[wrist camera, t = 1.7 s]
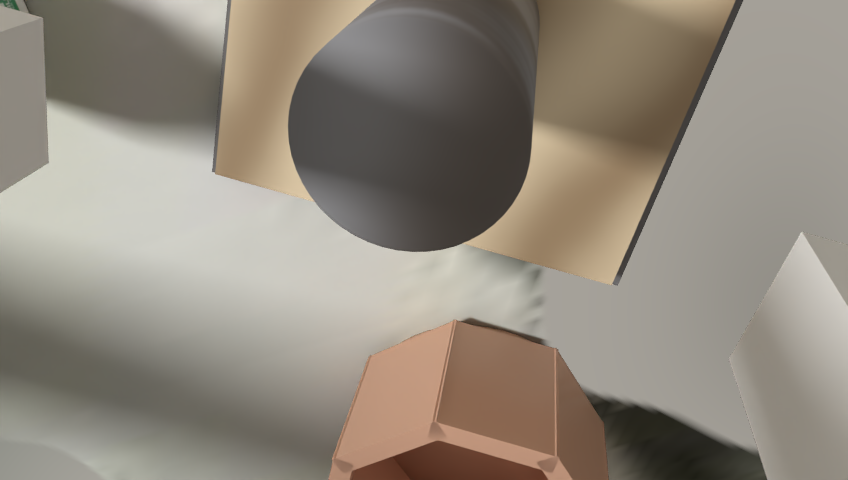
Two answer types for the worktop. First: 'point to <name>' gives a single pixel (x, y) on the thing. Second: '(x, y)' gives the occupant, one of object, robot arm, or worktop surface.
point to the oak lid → (467, 116)
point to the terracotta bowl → (470, 412)
